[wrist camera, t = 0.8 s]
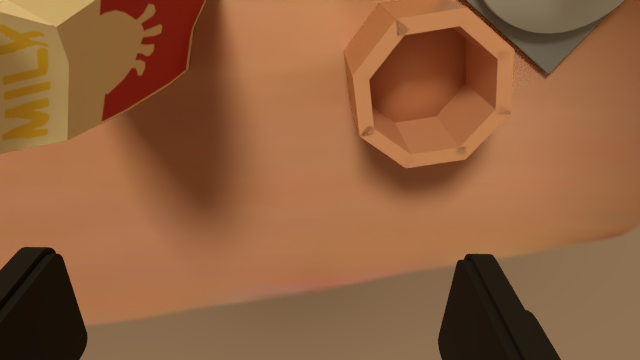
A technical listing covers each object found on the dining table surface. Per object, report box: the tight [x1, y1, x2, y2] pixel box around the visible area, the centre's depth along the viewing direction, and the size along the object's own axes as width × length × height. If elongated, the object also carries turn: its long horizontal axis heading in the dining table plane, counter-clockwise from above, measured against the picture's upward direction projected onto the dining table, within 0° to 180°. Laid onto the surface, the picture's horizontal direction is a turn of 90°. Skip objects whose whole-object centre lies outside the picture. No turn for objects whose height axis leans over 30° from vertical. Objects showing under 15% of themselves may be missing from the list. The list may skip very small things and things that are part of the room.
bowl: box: [344, 0, 515, 168], centre depth 31 cm, size 10×10×7 cm
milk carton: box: [0, 0, 206, 154], centre depth 22 cm, size 9×9×20 cm
